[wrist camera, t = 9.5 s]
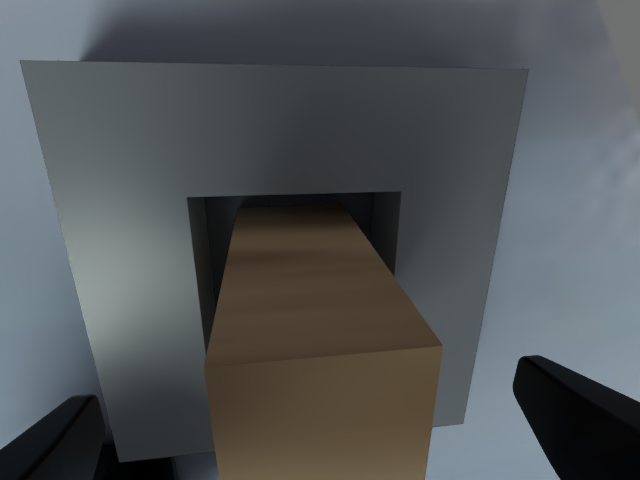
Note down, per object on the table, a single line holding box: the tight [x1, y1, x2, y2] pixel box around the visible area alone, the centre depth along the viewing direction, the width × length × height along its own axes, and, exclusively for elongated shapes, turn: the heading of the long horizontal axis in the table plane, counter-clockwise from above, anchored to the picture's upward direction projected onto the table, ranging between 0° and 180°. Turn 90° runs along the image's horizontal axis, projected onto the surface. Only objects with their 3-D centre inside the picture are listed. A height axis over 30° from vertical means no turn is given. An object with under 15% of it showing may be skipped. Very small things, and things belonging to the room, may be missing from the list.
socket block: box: [20, 60, 529, 463], centre depth 14 cm, size 13×13×3 cm
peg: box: [204, 204, 443, 480], centre depth 11 cm, size 4×4×9 cm
